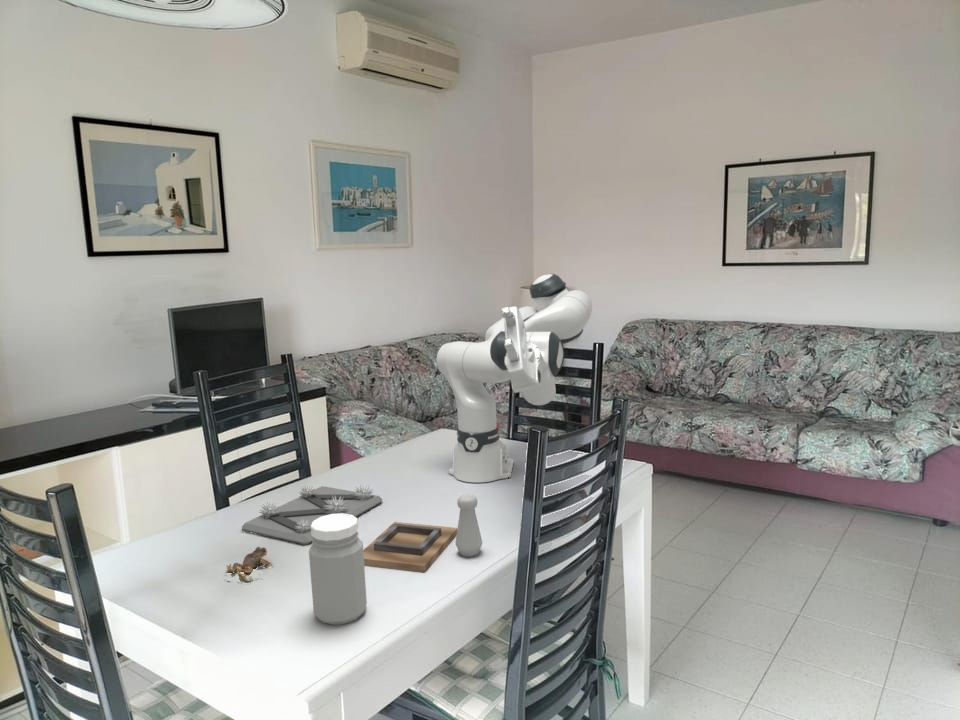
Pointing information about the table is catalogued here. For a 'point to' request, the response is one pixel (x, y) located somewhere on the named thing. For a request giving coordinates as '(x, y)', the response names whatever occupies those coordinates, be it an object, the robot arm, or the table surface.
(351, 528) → the jar
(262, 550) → the frog figurine
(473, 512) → the salt shaker
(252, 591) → the table surface
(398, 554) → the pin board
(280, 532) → the decorative plate
